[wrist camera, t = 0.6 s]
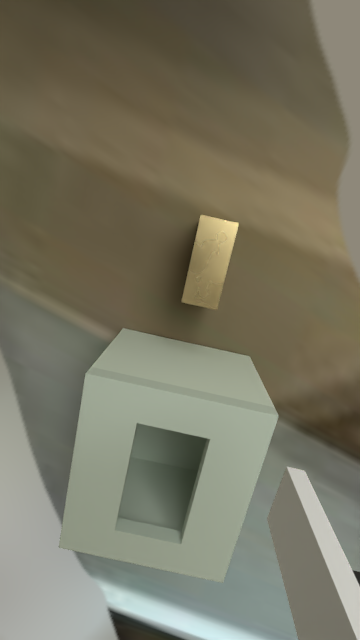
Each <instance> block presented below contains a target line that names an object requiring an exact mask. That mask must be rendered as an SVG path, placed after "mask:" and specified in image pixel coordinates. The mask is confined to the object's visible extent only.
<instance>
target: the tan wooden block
mask: <svg viewBox="0 0 360 640" xmlns="http://www.w3.org/2000/svg"><path fill="white" fill-rule="evenodd" d="M238 225H239V223H235V222H231V221H227V220H222V219H218V218H213V217H209V216H204V215H201V216H200V220H199V225H198V229H197V234H196V238H195V243H194V247H193V252H192V256H191V261H190V265H189V270H188V274H187V279H186V283H185V287H184V292H183V297H182V301H181V302H183V303H187V304H192V305H196V306H201V307H205V308H209V309H214V310H217V307H218V304H219V300H220V296H221V292H222V288H223V284H224V280H225V276H226V272H227V268H228V264H229V260H230V256H231V252H232V248H233V244H234V241H235V237H236V233H237V229H238Z"/></svg>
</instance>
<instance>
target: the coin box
mask: <svg viewBox="0 0 360 640" xmlns="http://www.w3.org/2000/svg"><path fill="white" fill-rule="evenodd" d="M277 419H278V414H277V412H276V410H275V407H274V405H273V403H272V401H271V399H270V397H269V395H268V393H267V391H266V389H265V387H264V385H263V383H262V381H261V379H260V377H259V375H258V373H257V371H256V369H255V367H254V365H253V363H252V360H251V358H250V356H246V355H241V354H237V353H232V352H228V351H223V350H219V349H214V348H210V347H205V346H201V345H196V344H192V343H187V342H183V341H178V340H174V339H169V338H165V337H160V336H156V335H151V334H147V333H142V332H138V331H133V330H129V329H124V328H123V329H122V330H121V331H120V333H119V334H118V335H117V336H116V337H115V339H114V340H113V341H112V342H111V343H110V345H109V346H108V347H107V348H106V350H105V351H104V352H103V353H102V354H101V356H100V357H99V358H98V359H97V360H96V362H95V363H94V364H93V365H92V366H91V368H90V369H89V370H88V371H87V372H86V374H85V381H84V387H83V394H82V400H81V407H80V413H79V420H78V426H77V433H76V439H75V446H74V452H73V459H72V465H71V471H70V478H69V484H68V491H67V497H66V504H65V510H64V517H63V523H62V530H61V537H60V543H59V548H63V549H68V550H73V551H77V552H82V553H86V554H91V555H96V556H100V557H105V558H110V559H114V560H119V561H124V562H128V563H133V564H138V565H142V566H147V567H152V568H156V569H161V570H166V571H170V572H175V573H180V574H184V575H189V576H193V577H198V578H203V579H207V580H212V581H217V582H221V583H223V581H224V578H225V575H226V572H227V569H228V566H229V563H230V560H231V557H232V554H233V551H234V548H235V545H236V542H237V539H238V536H239V533H240V530H241V527H242V524H243V521H244V518H245V515H246V512H247V509H248V506H249V503H250V500H251V497H252V494H253V491H254V488H255V485H256V482H257V479H258V476H259V473H260V470H261V467H262V464H263V461H264V458H265V455H266V452H267V449H268V446H269V443H270V440H271V437H272V434H273V431H274V428H275V425H276V422H277Z"/></svg>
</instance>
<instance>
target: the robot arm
mask: <svg viewBox="0 0 360 640" xmlns="http://www.w3.org/2000/svg"><path fill="white" fill-rule="evenodd" d="M267 520H268V524H269V528H270V532H271V536H272V540H273V543H274V547H275V551H276V555H277V559H278V563H279V566H280V570H281V574H282V578H283V582H284V586H285V589H286V593H287V597H288V601H289V605H290V609H291V612H292V616H293V620H294V624H295V628H296V632H297V636H298V639H299V640H360V572H357V571H353V570H352V569H351V567H350V565H349V563H348V560H347V558H346V556H345V554H344V552H343V550H342V548H341V546H340V544H339V542H338V540H337V537H336V535H335V533H334V531H333V529H332V527H331V525H330V523H329V521H328V519H327V516H326V514H325V512H324V510H323V508H322V506H321V504H320V502H319V500H318V498H317V496H316V493H315V491H314V489H313V487H312V485H311V483H310V481H309V479H308V477H307V475H306V473H305V471H303V470H299V469H295V468H290V467H286V470H285V473H284V475H283V478H282V481H281V483H280V486H279V488H278V491H277V494H276V496H275V499H274V502H273V504H272V507H271V510H270V512H269V515H268V517H267Z"/></svg>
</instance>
